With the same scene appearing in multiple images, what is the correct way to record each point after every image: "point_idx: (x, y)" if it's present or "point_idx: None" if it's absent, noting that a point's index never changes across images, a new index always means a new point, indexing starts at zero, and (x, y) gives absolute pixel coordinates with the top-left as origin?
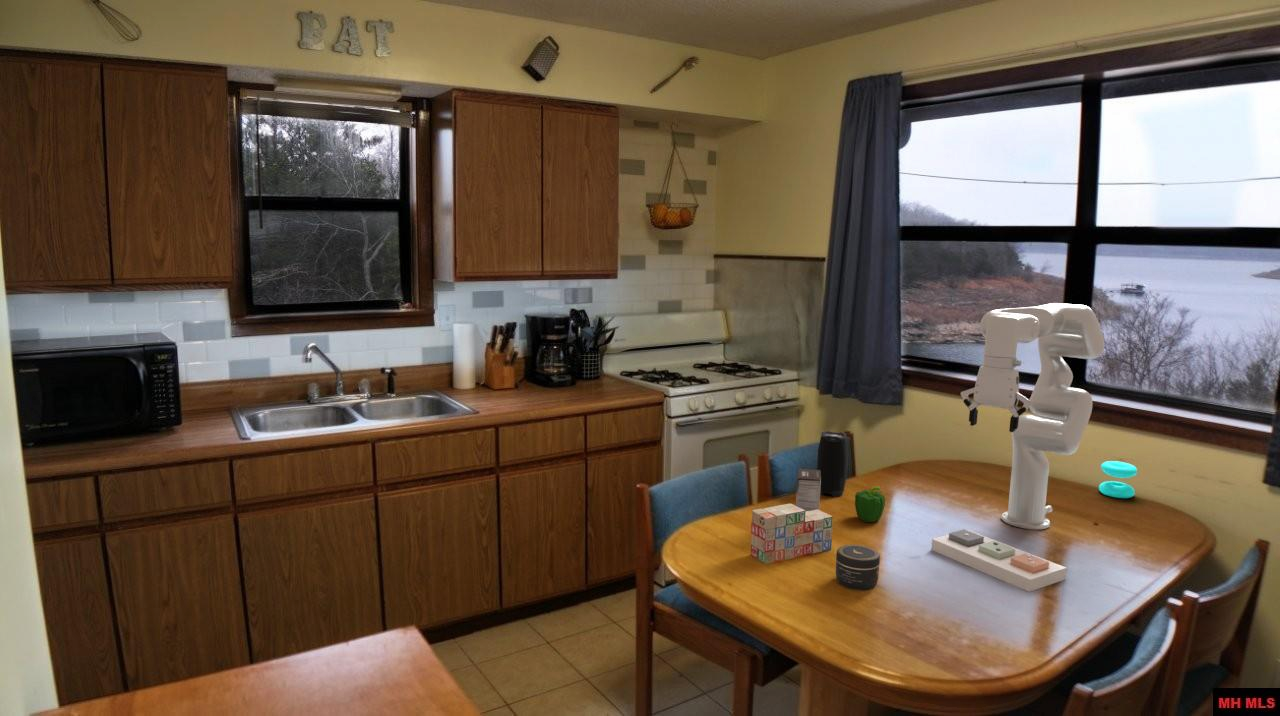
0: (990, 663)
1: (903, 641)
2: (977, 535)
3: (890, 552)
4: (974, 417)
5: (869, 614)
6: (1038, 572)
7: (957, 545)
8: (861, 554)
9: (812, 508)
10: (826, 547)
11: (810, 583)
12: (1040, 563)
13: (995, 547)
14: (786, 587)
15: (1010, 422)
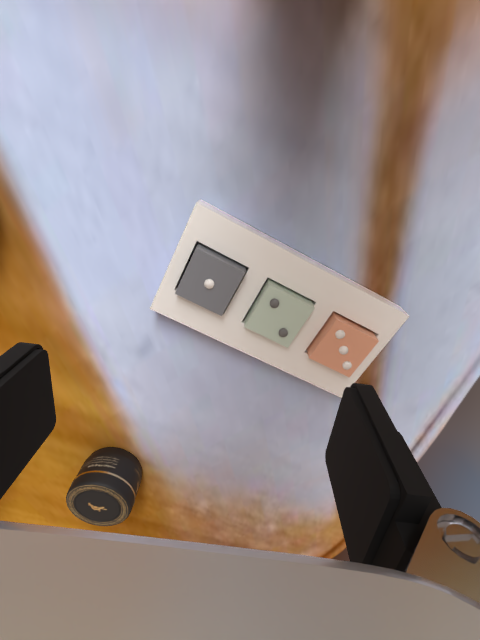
0: (301, 549)
1: None
2: (231, 272)
3: (102, 350)
4: (13, 462)
5: (167, 521)
6: None
7: (202, 316)
8: (106, 511)
9: None
10: None
11: None
12: (362, 356)
13: (276, 321)
14: (59, 509)
15: (344, 523)
